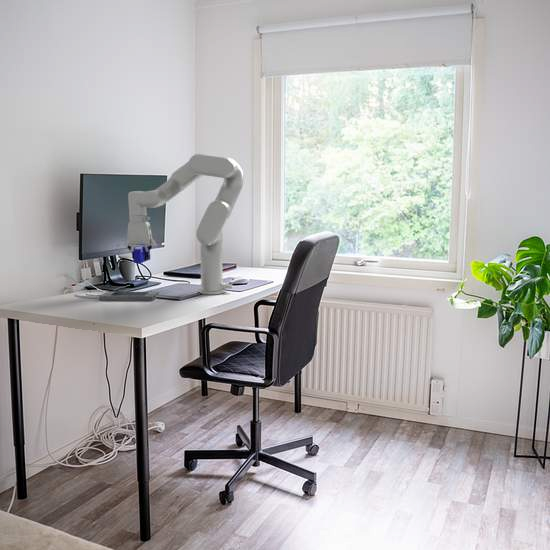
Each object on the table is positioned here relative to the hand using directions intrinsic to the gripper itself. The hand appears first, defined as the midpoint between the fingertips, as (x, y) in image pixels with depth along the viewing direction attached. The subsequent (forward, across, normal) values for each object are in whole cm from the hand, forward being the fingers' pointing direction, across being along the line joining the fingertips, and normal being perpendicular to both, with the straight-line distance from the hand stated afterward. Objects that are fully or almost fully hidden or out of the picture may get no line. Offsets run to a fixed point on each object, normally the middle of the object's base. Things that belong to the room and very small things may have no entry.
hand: (140, 259), depth 286 cm
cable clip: (+1, 0, 0) cm, 1 cm away
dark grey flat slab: (+15, +2, +14) cm, 20 cm away
